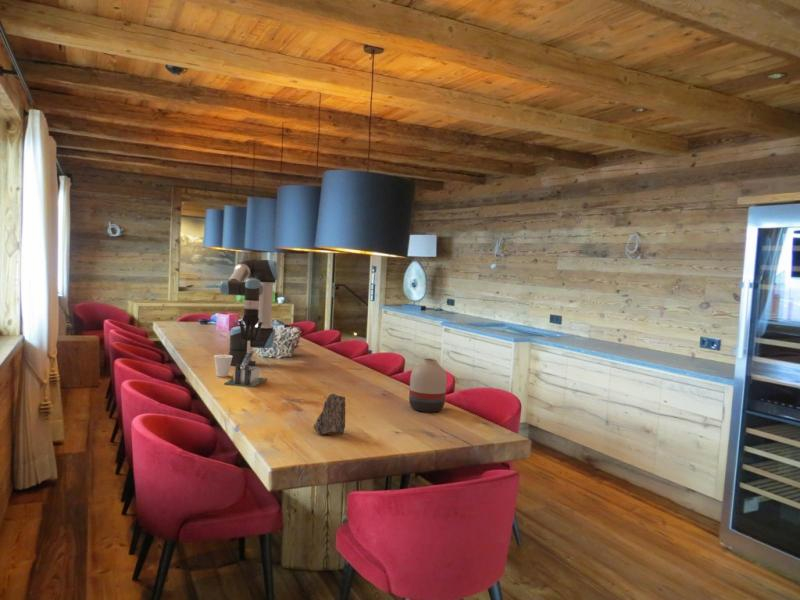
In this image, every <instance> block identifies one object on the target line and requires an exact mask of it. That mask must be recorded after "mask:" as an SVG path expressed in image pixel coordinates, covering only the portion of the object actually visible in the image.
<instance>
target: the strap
mask: <svg viewBox="0 0 800 600" xmlns="http://www.w3.org/2000/svg"><path fill="white" fill-rule="evenodd" d="M254 353H255V352H254V350H251V353H247V354H246V356H245V358H244V360H243V362H242V364H241V366H240V367H239V370H245V366H246V365H248V363H249V361H250V359H251V360H252V357H253V355H254Z"/></svg>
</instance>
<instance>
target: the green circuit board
mask: <svg viewBox="0 0 800 600" xmlns="http://www.w3.org/2000/svg"><path fill="white" fill-rule="evenodd" d="M256 365H257V363H256V360H251V361H250V362H249V365H246V366H245V370H239V367H240V365H239V364H237V365H236V366H235V367H234V369H233V370H234V371H233V377H232V379H230V380H227V381H225V382H224V383H223V385H224V386H235V385H236V387H238V386H239V387H246V386H247V387H248V388H256V387H257V385H258V386H259V385H260V384H262V383H264V382H266V381H267V380H268V378H267V377H260V366H256Z"/></svg>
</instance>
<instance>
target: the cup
mask: <svg viewBox="0 0 800 600" xmlns="http://www.w3.org/2000/svg"><path fill="white" fill-rule="evenodd" d="M232 357H233V356H231V355H228V354H215V355H213V358H214V366H215V373H216V376H217V377H219V378H227V377H229V374H230V370H231V366H232V365H231V361H232Z"/></svg>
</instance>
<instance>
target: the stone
mask: <svg viewBox="0 0 800 600" xmlns="http://www.w3.org/2000/svg"><path fill="white" fill-rule="evenodd" d="M345 428H346V397H345V396H342V395H337V394H336V393H330V394H328V396H327V399H326V400H325V401H324V405H323V408H322V411H321V413H320V414H319V415H318V417H317V418H316V421H315V423H314V425H313V429H314V431H315V432H316V434H317V435H319V436H323V435H327V434H331V433H340V434H344V433H345Z"/></svg>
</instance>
